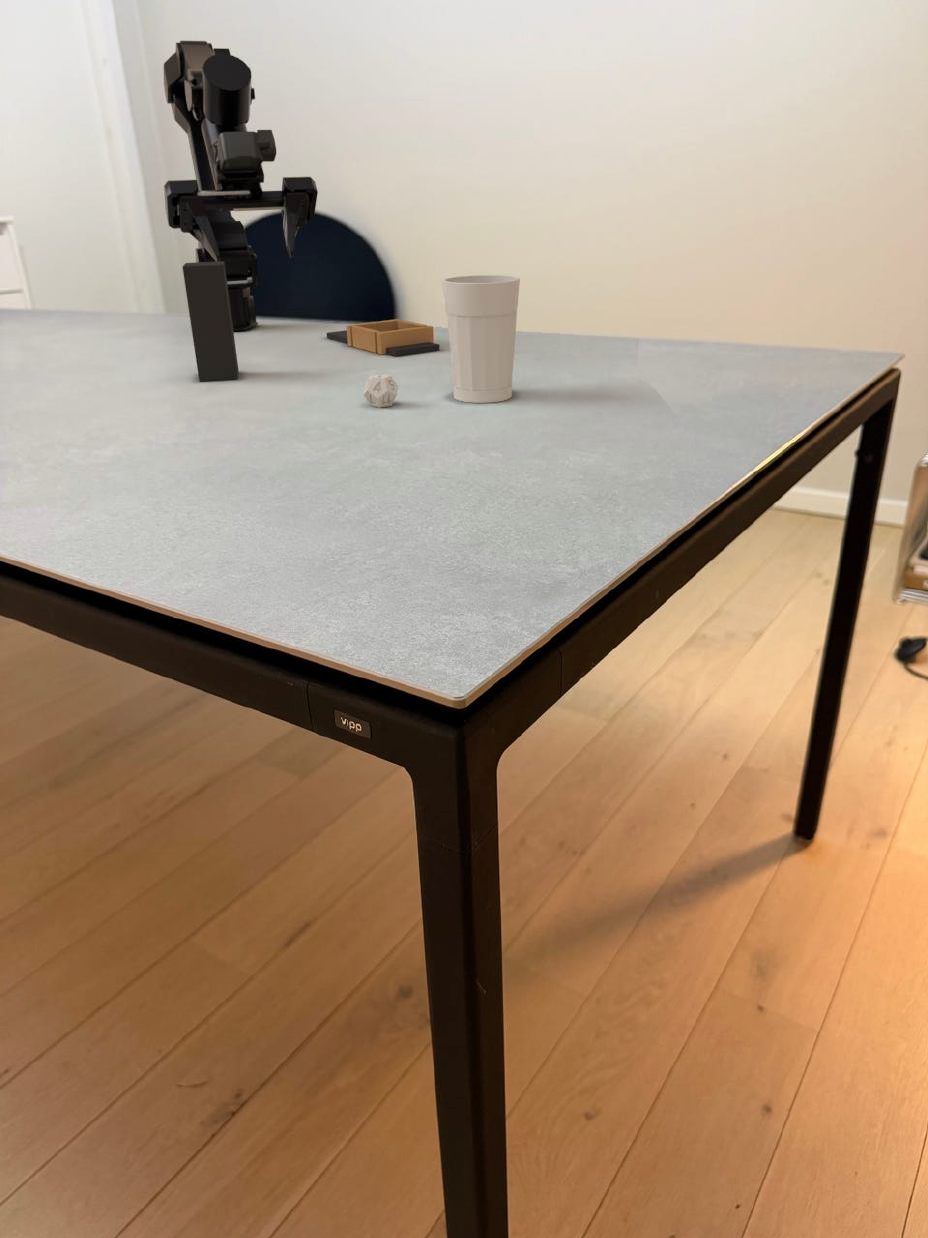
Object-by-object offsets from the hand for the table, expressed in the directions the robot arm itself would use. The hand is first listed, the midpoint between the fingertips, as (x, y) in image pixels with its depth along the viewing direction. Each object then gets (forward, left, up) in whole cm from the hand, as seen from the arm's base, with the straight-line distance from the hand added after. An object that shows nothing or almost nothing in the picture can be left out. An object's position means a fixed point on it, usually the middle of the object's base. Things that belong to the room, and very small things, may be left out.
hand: (255, 257), depth 115 cm
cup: (+32, -18, -13) cm, 38 cm away
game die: (+22, -23, -13) cm, 34 cm away
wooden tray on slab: (+12, +14, -13) cm, 22 cm away
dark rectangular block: (-2, -10, -13) cm, 16 cm away
